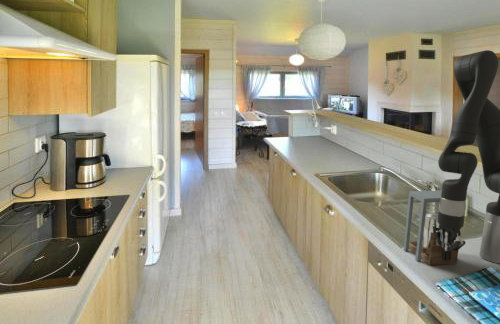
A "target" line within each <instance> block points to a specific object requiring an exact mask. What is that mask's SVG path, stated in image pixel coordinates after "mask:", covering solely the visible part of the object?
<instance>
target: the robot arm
mask: <svg viewBox="0 0 500 324" xmlns="http://www.w3.org/2000/svg"><path fill="white" fill-rule="evenodd" d="M498 68H499V57H498V55H497V54H496V53H495V52H494V51H493V50H491V49H490V50H487V49H486V50H480V51H477V52H473V53H469V54H463V55H462V56H459V57H457V58H456V59H455V61H454V62H453V74H454V75H453V76H454V78H455V81H456V84H457V86H458V89H459V91H460V94H461V95H462V99H463V100H464V102H463V103H462V104H461V106H460V108H459V109H457V111H456V113H455V116H454V118H453V120H452V125H451V128H450V129H451V130H450V135H449V139H448V141H447V142H446V144H445V147H444V148H443V150H442V152H441V154H440V155H439V158H438V167H439V169H440V170H441V171H442V172H444V173H445V172H446V173H452V174H456V175H457V174H458V175H461V176H460V177H458V178H453V179H451V178H450V179H445V180H443V181H442V185H441V190H442V193H441V199H440V202H438V203H439V206H438V212H437V215H438V220H437V222H438V224H439V227H437V228H434V232H435V235H436V239H437V242H438V244H439V245H441V248H442V259H443V260H444V261H450V259H451V254H452V251H458V250H460V249H462V248H463V247H464V245H466V241H465V240H463V239H462V238H461V235H462V233H461V229H462V228H464V225H465V224H464V223H465V218H466V217H465V215H466V208H467V204H466V203H467V201H466V200H467V192H468V188H469V184H470V181H471V179H472V176H473V175H474V172H475V171H476V168H477V167H478V158H477V156H476V155H475V154H474V153H472V152H465V151H464V152H463V151H457V150H458V148H460V147H465V146H472V145H474V144H475V141H476V144H477V147H478V148H477V149H478V152H479V156H480V159H481V166H482V174H483V180H484V184H485V186H486V188H488V190H490V191H491V192H493V193H495V194H498V198H497V200H496V201H491V202H488V203H486V208H485V213H484V223H483V228H482V229H483V230H482V235H481V243H480V251H479V256H480V257H481V258H482V259H484V260H486V261H487V262H488V261H489V262H492V263H495V264H500V108H499V107H498V106H497V105H496V104H495V103H493V102H492V101H491V99H489V98H488V96H489V94H490V91H491V89H492V86H493V84H494V81H495V78H496V75H497V72H498V70H499V69H498ZM458 252H459V251H458Z"/></svg>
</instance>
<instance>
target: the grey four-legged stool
mask: <svg viewBox="0 0 500 324" xmlns="http://www.w3.org/2000/svg"><path fill="white" fill-rule="evenodd" d="M441 193H442V189H439V190H438V189H437V190H436V189H435V190H409V191H408V200H407V201H408V203H407V212H406V222H405V223H406V224H405V233H404V243H403V251H404V252H409V250H410V249H409V242H410V241H411V240H410V237H411V230H412V229H411V228H412V227H411V226H412V218H413V207H414V200H415V199H416V200H418V201H420V202H421V204H420V215H419V224H418V230H417V240H416V241H417V247H416V248H417V250H416V254H415V261H416V262H421V261H422V259H421V253H422V244H423V235H424V226H425V217H426V213H427V205H428V204H429V203H440V199H441Z"/></svg>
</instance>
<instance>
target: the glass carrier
mask: <svg viewBox="0 0 500 324" xmlns="http://www.w3.org/2000/svg"><path fill="white" fill-rule="evenodd" d="M417 241H418V240H414V241H413V240H412V241H411V240H410V241H409V249H408V250H410V252H411V251H412V253H414V254H415V255H416V250H417ZM459 250H460V249H459ZM459 250H458V251H452V254H451V259H450V261H444V260H443V259H442V248H441V245H439V244H437V245H430V246H429V252H428V253H423V252H422V253H421V260H423V261H424V262H425V263H427V264H428V265H429V266H434V265H436V266H437V265H454V264H456V265H457V264H458V257H459Z"/></svg>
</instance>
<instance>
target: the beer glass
mask: <svg viewBox="0 0 500 324" xmlns="http://www.w3.org/2000/svg"><path fill="white" fill-rule="evenodd" d="M437 220H438V213H437V214H436V213H429V212H428V213H427V212H426V217H425V226H424V235H423V244H422V252H423V253H428V252H429V246H430V245H437V244H438V242H437V239H436V235H435V232H434V228H437V227H439V224H438V222H437Z"/></svg>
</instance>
